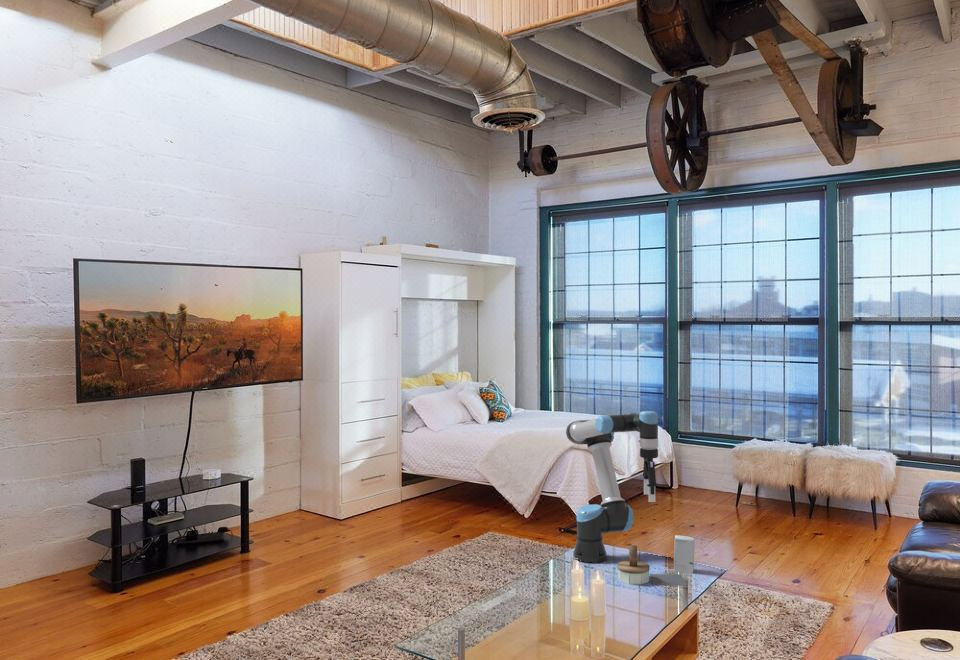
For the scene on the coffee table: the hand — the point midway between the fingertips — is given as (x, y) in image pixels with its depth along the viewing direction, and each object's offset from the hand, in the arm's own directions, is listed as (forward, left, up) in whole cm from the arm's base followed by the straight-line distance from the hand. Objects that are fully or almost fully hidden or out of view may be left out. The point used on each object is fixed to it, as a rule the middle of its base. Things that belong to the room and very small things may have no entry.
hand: (649, 498), depth 304 cm
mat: (+7, +6, -33) cm, 34 cm away
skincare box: (-5, +15, -33) cm, 37 cm away
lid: (+7, -8, -28) cm, 30 cm away
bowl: (+7, -8, -33) cm, 34 cm away
